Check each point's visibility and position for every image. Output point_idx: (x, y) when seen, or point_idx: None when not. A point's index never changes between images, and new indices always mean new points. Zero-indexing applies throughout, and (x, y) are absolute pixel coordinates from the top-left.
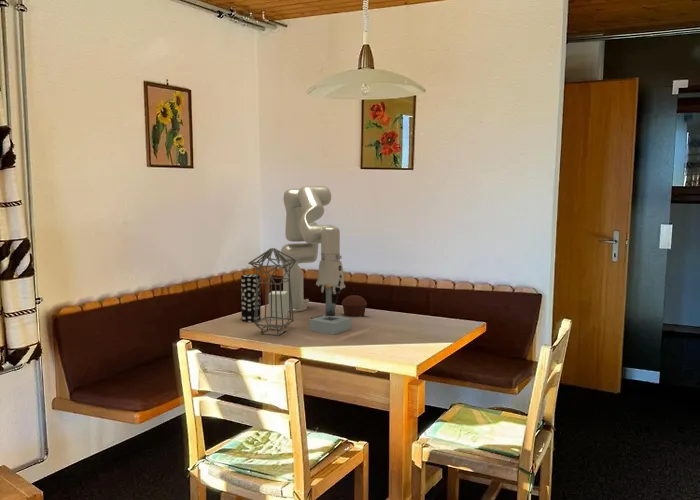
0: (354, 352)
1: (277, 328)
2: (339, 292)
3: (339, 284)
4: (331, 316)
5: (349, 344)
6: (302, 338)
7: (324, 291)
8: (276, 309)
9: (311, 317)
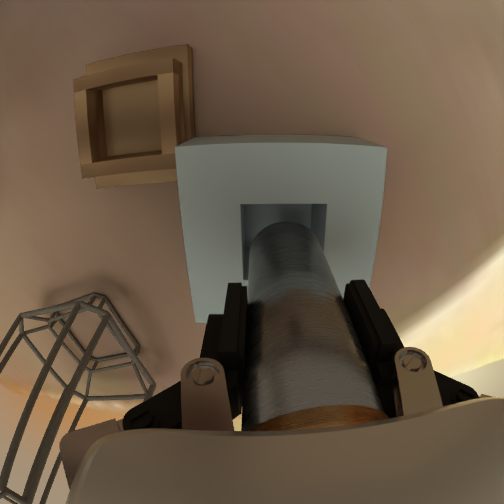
0: (459, 349)
1: (144, 384)
2: (424, 354)
3: (457, 413)
4: (242, 181)
5: (430, 303)
6: None
7: (232, 411)
8: None
9: (83, 175)
